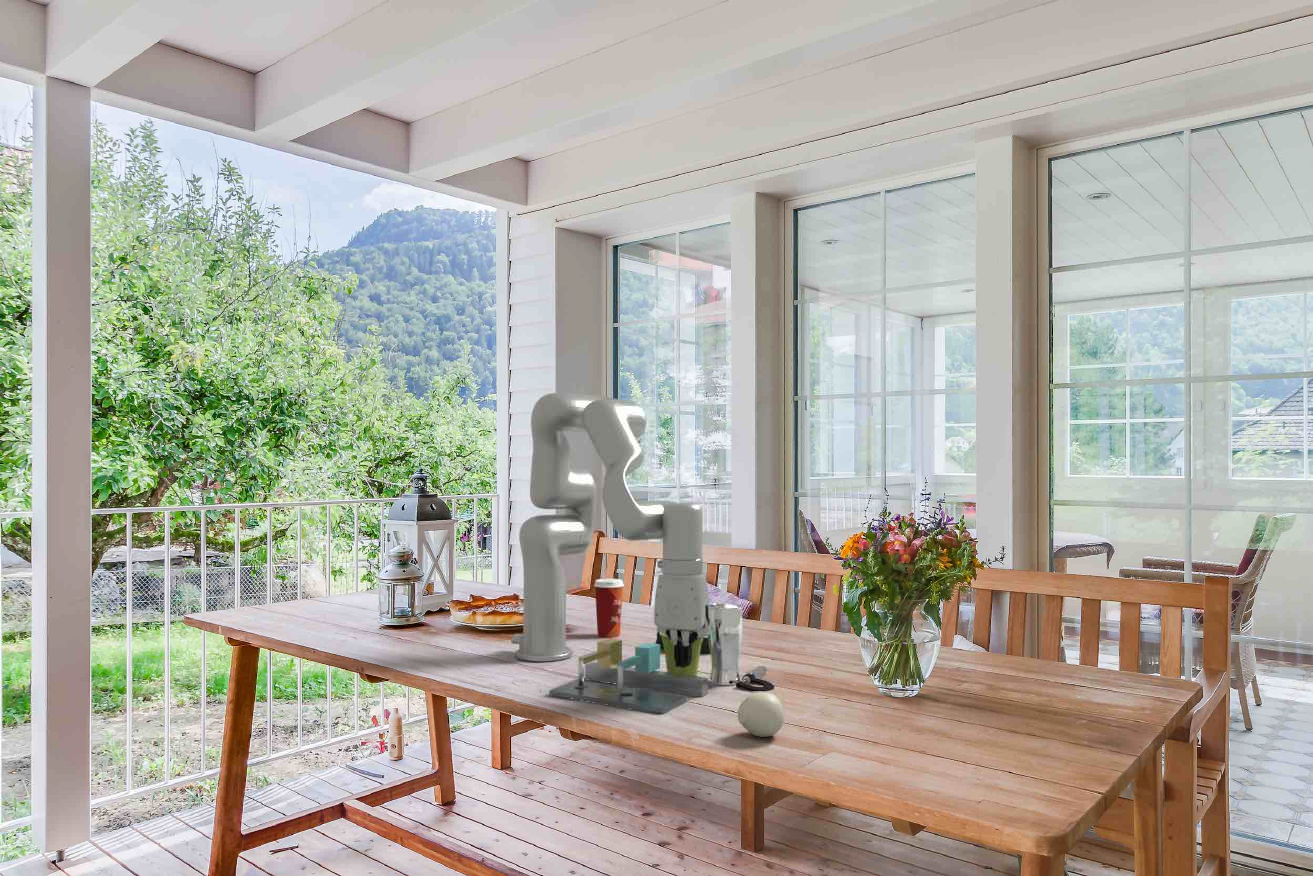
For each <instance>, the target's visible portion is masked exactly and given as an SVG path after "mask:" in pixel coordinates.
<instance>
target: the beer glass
mask: <svg viewBox="0 0 1313 876" xmlns="http://www.w3.org/2000/svg"><path fill="white" fill-rule="evenodd" d="M708 627H709V631H710V634H709V635H708V641H709V647H710V653H711V654H710V659H711V670H710V675H709V682H710V684H712V685H715V686H724V687H725V686H727V685H730V686H736V683H738V682H739V681H741V678H740V677H741V676H740V671H739V657H740V652H741V651H740V650H741V646H742V638H743V613H742V605H741V604H739V603H738V604H737V603H731V602H716V603H711V604H710V625H709V626H708ZM727 687H728V686H727Z"/></svg>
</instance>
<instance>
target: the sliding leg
mask: <svg viewBox="0 0 1313 876" xmlns="http://www.w3.org/2000/svg"><path fill="white" fill-rule="evenodd" d="M634 650H635V651H634V652H635V653H634V654H635V655H634V656H631V657H628V658H626V659H622V661H620V662H618V684H617V686H618V692H623V687H624V685H623V670H624V669H627V668H629V667H632V668H633V667H634V668H635V671H638V672H645V673H650V672H652V671H658V670H659V669H661V646H660V644H656V643H651V642H646V643H643V644H640V645H637V646H635V649H634Z"/></svg>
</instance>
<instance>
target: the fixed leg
mask: <svg viewBox="0 0 1313 876" xmlns="http://www.w3.org/2000/svg"><path fill="white" fill-rule="evenodd" d="M596 647H597V648H596V649H597V650H595V651H593V652H590V653H587V654H584V655H581V656H578V671H577V672H578V673H577V674H578V677H577V680H578V686H584V681H585V674H584V673H585V664H588V663H591V662H596V663H597V668H604V669H612V668H615V667H617V666H618V662H620V661H623V640H622V639H615V638H605V639H604V640H601V641H597V644H596Z"/></svg>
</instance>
